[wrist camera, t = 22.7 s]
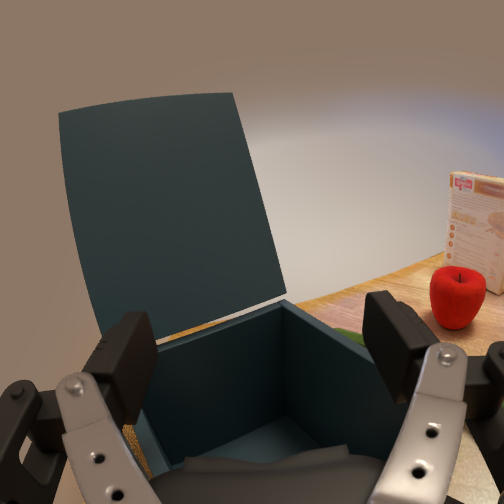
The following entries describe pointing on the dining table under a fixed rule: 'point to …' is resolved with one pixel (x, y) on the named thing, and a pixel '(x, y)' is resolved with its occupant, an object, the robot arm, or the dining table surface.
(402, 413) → the chest
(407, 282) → the dining table surface
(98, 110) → the lid
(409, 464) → the robot arm
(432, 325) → the dining table surface
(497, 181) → the coffeecake box
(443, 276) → the apple
